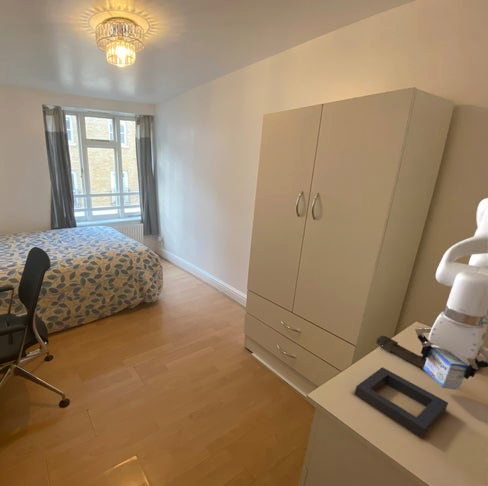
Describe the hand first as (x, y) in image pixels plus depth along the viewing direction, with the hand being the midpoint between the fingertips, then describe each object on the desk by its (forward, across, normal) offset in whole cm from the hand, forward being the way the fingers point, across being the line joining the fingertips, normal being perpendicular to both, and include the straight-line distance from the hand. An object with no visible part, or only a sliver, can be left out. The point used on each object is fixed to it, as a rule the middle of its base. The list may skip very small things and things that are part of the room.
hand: (445, 366), depth 82 cm
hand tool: (+10, +12, -9) cm, 18 cm away
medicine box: (+5, 0, 0) cm, 5 cm away
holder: (+10, +4, +15) cm, 18 cm away
